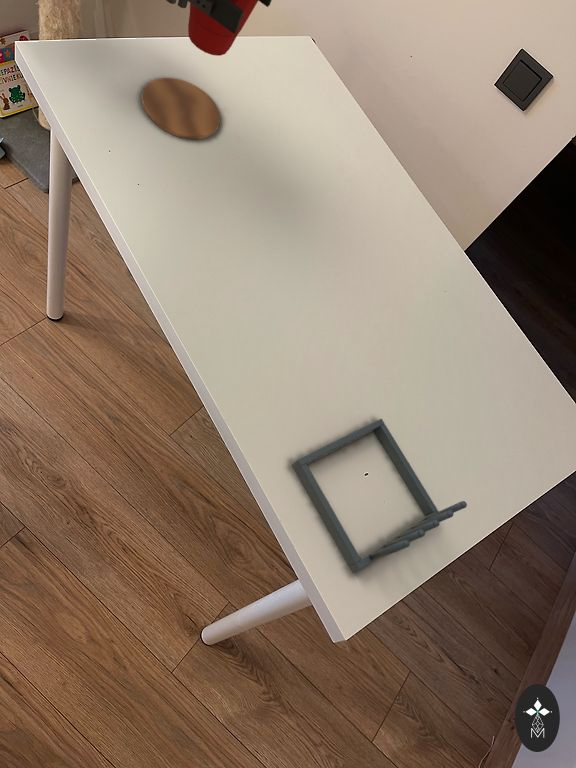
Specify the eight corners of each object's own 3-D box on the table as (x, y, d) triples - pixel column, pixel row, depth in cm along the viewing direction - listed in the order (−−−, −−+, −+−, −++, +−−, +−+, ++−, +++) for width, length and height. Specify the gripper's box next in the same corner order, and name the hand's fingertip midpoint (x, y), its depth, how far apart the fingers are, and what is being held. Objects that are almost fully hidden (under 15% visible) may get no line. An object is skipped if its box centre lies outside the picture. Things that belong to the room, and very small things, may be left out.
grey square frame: (291, 464, 71) (325, 436, 64) (374, 423, 79) (413, 394, 71) (352, 572, 68) (395, 556, 60) (432, 518, 76) (479, 498, 68)
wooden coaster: (166, 144, 86) (167, 141, 86) (127, 84, 89) (127, 80, 88) (233, 134, 93) (234, 131, 93) (195, 78, 95) (196, 75, 95)
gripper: (144, -93, 82) (280, 7, 84) (44, -46, 70) (207, 69, 72) (155, -157, 76) (301, -47, 78) (48, -118, 64) (225, 11, 66)
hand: (256, 9), depth 75 cm, fingers closed on plastic cup, 9 cm apart
